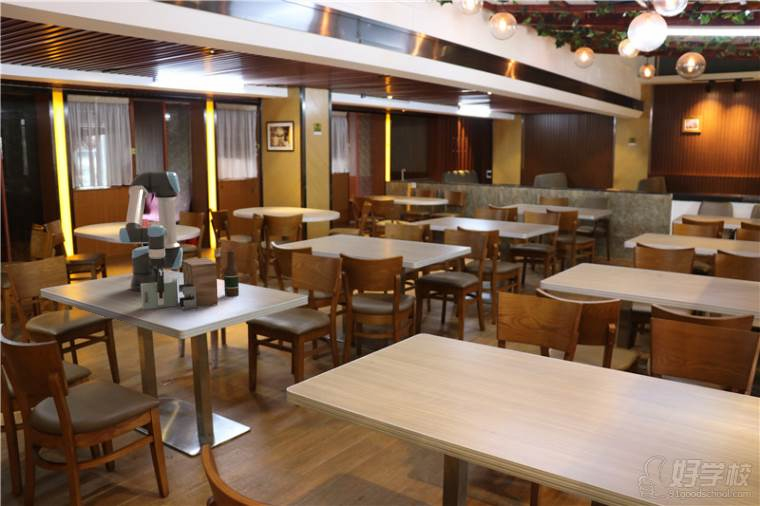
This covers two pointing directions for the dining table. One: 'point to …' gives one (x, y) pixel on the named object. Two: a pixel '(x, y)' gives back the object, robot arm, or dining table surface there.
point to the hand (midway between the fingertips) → (159, 303)
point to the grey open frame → (188, 302)
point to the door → (150, 294)
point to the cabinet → (202, 280)
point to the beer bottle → (231, 277)
